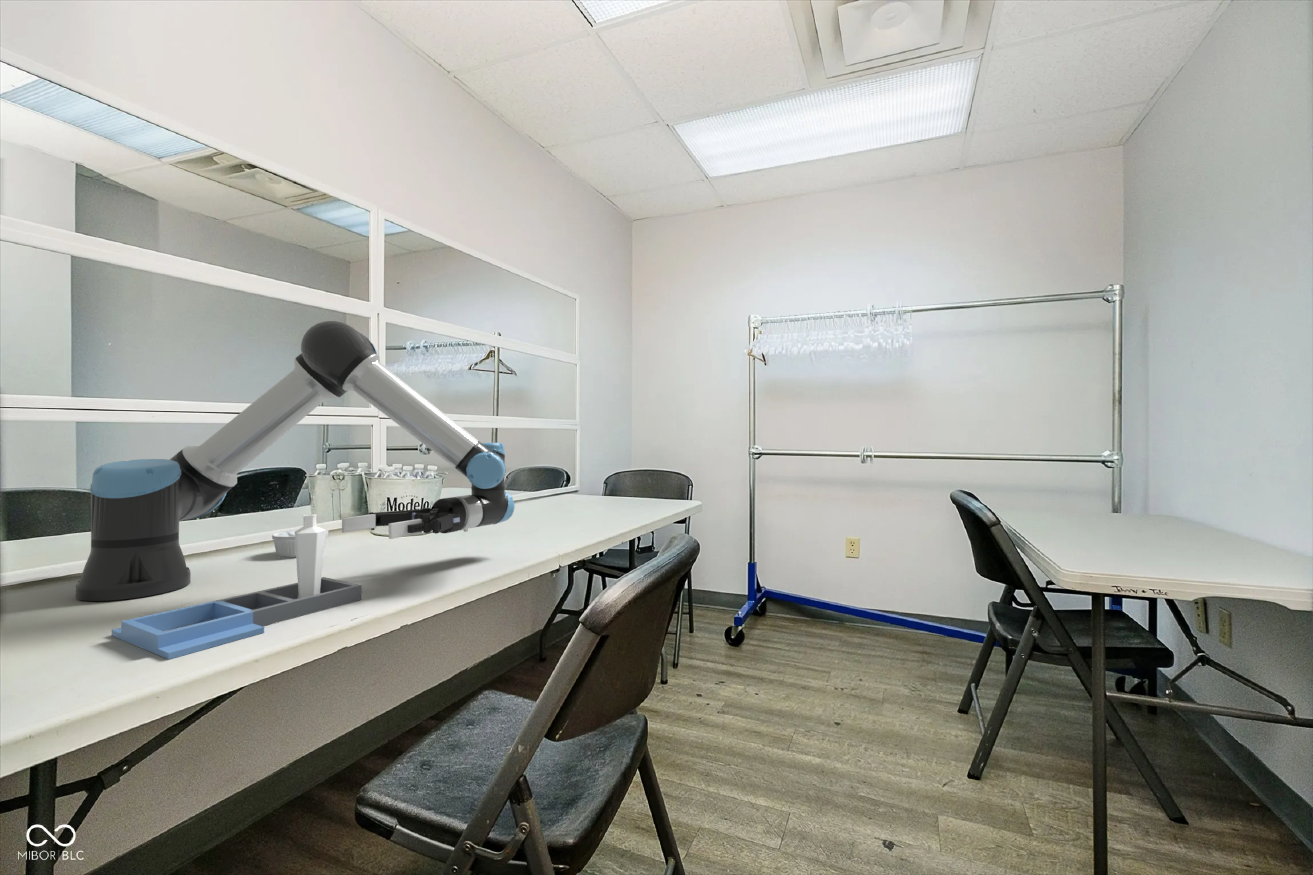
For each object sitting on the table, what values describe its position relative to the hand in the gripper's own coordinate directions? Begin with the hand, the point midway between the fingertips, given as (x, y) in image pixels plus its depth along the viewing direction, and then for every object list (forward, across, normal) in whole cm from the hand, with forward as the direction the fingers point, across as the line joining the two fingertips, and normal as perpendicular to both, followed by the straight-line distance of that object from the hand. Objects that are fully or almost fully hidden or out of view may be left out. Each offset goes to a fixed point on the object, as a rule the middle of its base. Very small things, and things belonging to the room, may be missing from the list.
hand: (365, 528), depth 102 cm
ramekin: (-12, +41, -11) cm, 44 cm away
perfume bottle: (+10, 0, -12) cm, 15 cm away
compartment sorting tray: (+18, 0, -11) cm, 21 cm away
